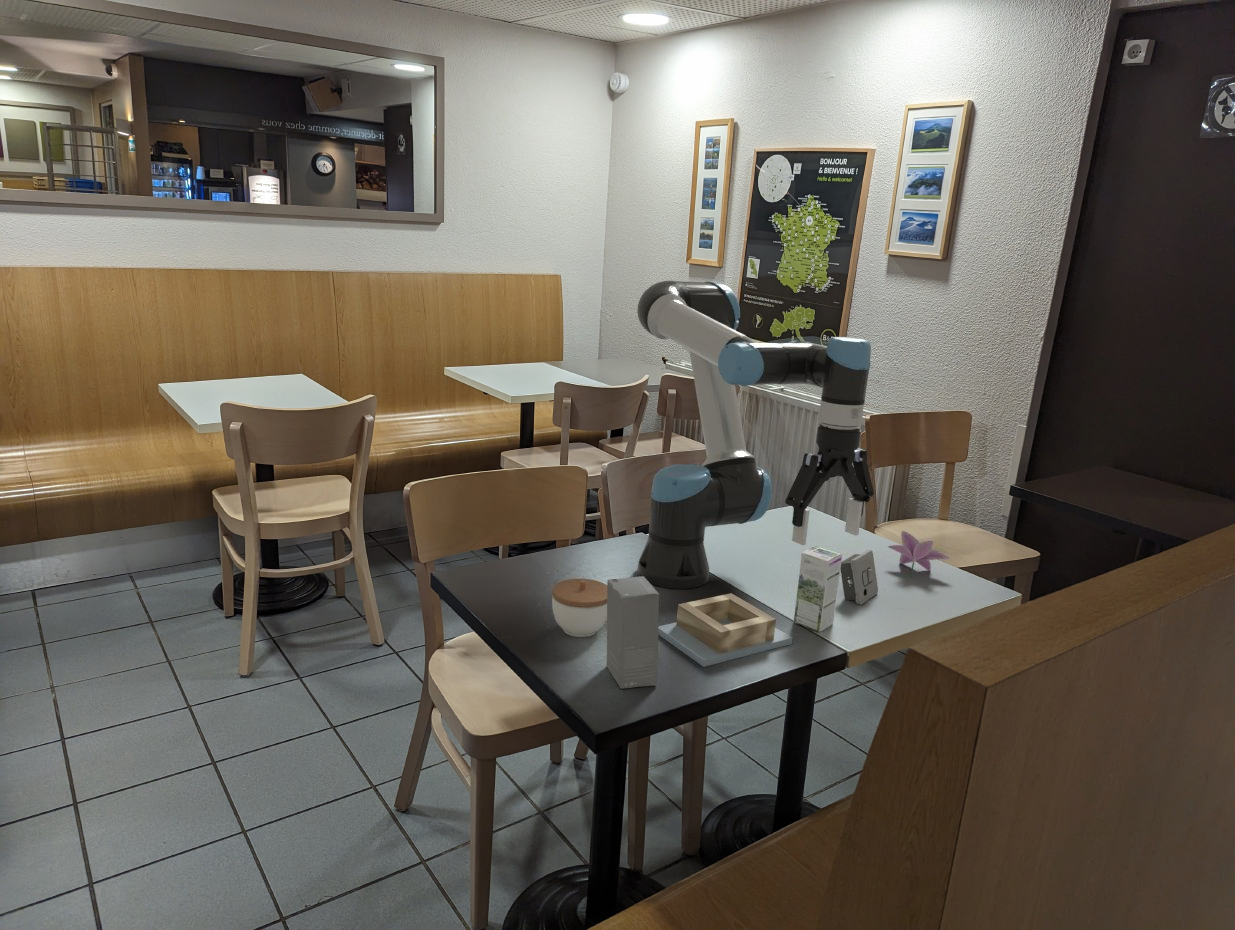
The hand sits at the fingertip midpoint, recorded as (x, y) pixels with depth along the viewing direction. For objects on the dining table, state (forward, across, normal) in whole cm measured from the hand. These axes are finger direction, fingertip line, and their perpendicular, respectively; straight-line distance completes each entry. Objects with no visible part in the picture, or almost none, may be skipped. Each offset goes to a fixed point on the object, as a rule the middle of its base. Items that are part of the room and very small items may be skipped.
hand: (825, 538), depth 158 cm
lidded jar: (+18, -42, +17) cm, 48 cm away
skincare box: (+18, -43, -1) cm, 46 cm away
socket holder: (+17, -20, +3) cm, 27 cm away
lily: (+18, +42, +11) cm, 47 cm away
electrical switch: (+18, +18, +7) cm, 26 cm away
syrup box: (+18, 0, 0) cm, 18 cm away
